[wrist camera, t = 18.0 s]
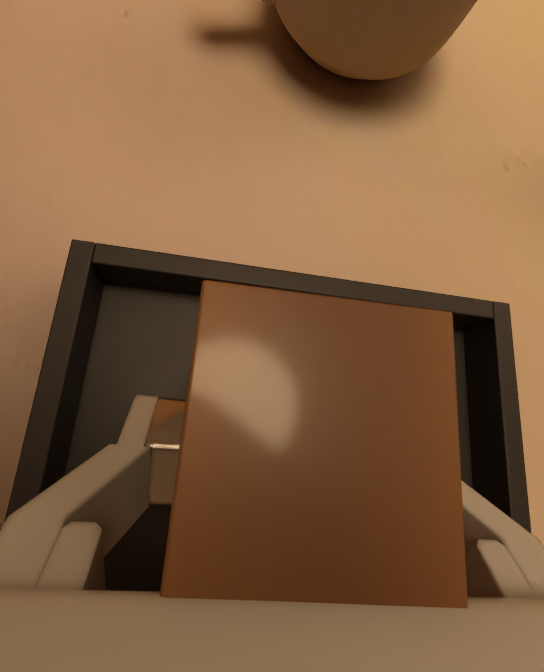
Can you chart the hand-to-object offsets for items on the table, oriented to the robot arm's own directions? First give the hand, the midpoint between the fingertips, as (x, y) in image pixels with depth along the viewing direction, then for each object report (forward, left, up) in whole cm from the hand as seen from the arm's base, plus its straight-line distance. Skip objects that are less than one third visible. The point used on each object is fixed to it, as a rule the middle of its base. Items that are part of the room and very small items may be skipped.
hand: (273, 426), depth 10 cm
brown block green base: (0, -1, -5) cm, 5 cm away
